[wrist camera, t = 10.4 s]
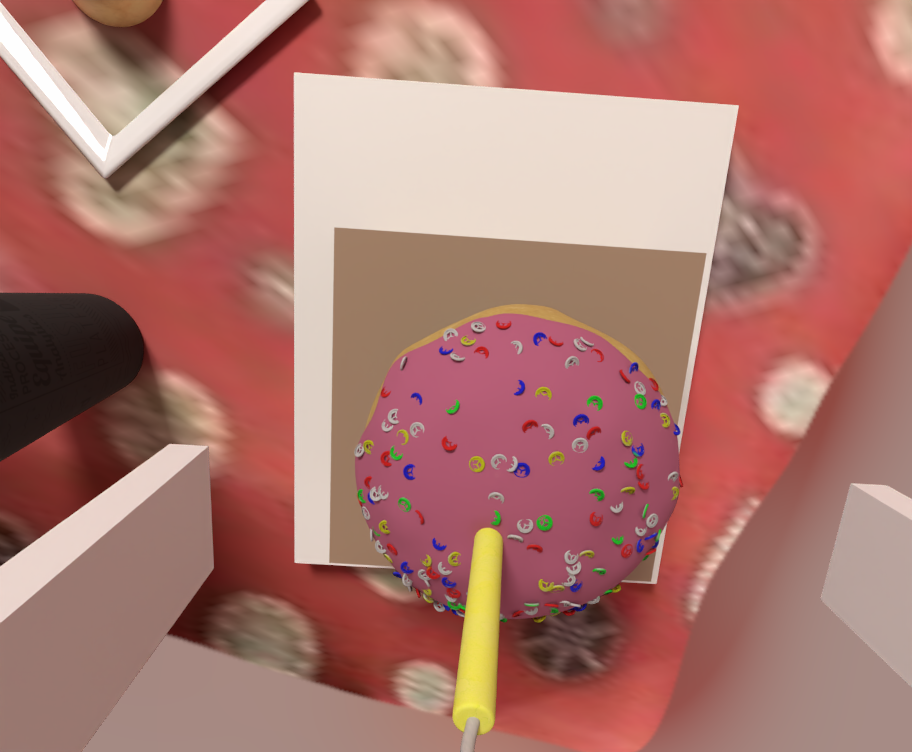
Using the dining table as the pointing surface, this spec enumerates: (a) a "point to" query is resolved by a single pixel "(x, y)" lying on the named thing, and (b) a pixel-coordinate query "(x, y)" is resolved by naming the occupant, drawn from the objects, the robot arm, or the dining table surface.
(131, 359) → the drinking cup
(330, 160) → the plinth
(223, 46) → the white square frame
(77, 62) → the dining table surface
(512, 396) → the cupcake
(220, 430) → the dining table surface
